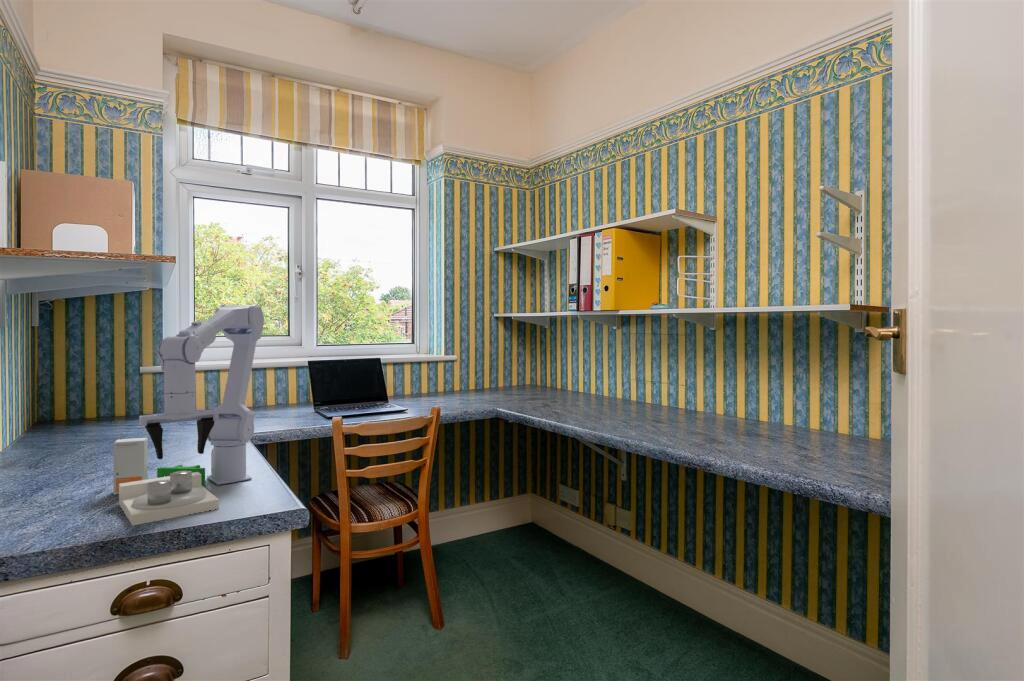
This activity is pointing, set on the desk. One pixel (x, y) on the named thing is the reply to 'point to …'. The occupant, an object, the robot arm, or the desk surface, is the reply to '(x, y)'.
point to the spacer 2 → (181, 482)
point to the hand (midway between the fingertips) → (180, 455)
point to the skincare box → (130, 461)
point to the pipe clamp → (168, 470)
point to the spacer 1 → (159, 492)
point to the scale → (180, 505)
